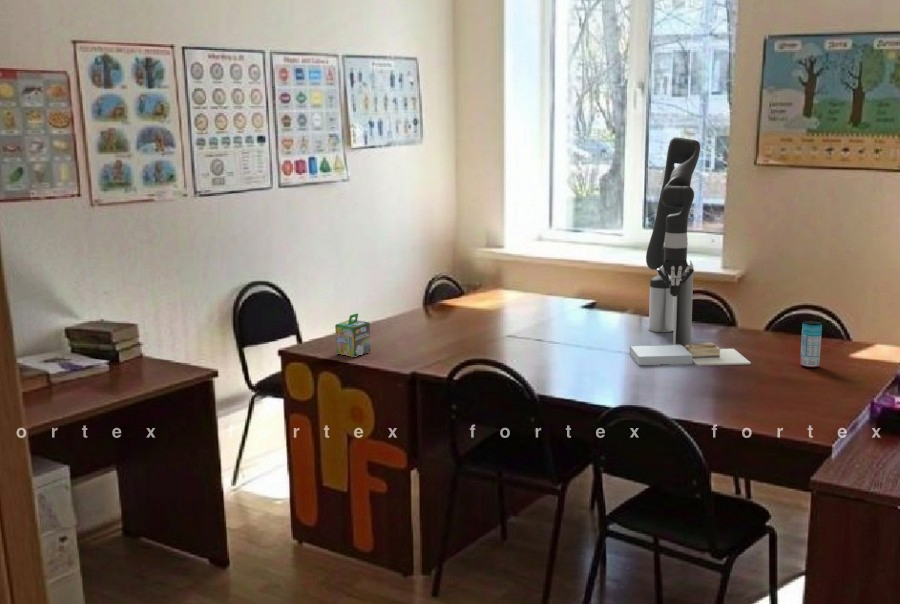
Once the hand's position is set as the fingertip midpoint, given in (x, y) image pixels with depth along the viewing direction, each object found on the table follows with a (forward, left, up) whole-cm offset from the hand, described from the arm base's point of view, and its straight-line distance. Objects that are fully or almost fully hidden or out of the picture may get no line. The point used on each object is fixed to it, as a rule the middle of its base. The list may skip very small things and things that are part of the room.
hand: (673, 295), depth 301 cm
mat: (+3, +14, -22) cm, 26 cm away
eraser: (+2, +10, -21) cm, 23 cm away
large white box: (+3, -5, -22) cm, 22 cm away
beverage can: (+16, +41, -22) cm, 49 cm away
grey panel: (-15, +7, -22) cm, 28 cm away
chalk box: (-13, -112, -22) cm, 115 cm away
